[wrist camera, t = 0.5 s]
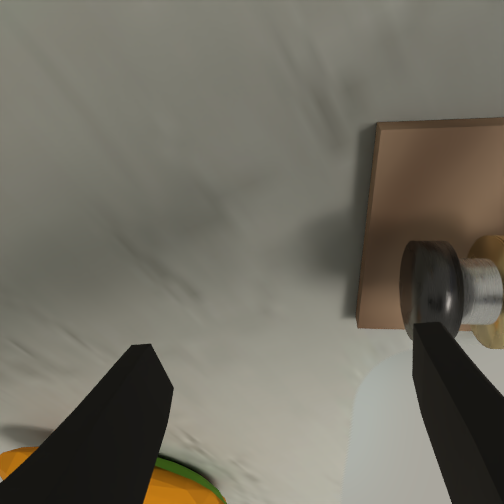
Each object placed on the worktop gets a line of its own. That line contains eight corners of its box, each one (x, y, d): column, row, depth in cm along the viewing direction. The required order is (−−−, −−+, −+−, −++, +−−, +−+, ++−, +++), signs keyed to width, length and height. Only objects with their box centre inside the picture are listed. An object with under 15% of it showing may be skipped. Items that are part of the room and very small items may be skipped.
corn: (205, 603, 32) (-43, 539, 29) (219, 504, 39) (17, 444, 36) (238, 571, 28) (-43, 495, 25) (247, 467, 35) (24, 397, 32)
